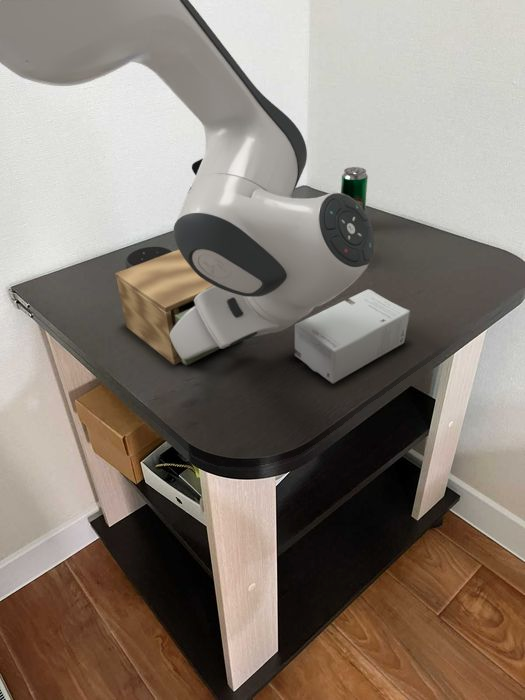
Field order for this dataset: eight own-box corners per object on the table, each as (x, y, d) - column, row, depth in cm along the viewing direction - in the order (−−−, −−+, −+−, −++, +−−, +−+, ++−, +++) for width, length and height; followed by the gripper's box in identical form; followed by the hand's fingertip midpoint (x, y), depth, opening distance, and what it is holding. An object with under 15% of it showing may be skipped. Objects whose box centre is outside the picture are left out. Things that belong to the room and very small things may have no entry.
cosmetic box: (411, 310, 77) (337, 350, 69) (405, 344, 80) (333, 387, 73) (366, 287, 82) (292, 322, 74) (362, 320, 86) (291, 357, 78)
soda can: (337, 232, 113) (340, 174, 106) (340, 222, 117) (343, 165, 110) (362, 233, 112) (367, 175, 105) (364, 223, 116) (369, 166, 109)
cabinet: (237, 333, 84) (233, 278, 78) (174, 365, 78) (165, 307, 72) (187, 300, 92) (180, 248, 87) (126, 327, 86) (115, 272, 81)
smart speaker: (156, 260, 105) (153, 240, 103) (187, 273, 100) (184, 253, 98) (118, 277, 100) (114, 257, 98) (148, 292, 95) (145, 272, 93)
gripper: (321, 241, 68) (270, 283, 80) (184, 299, 57) (149, 338, 69) (346, 285, 68) (291, 320, 80) (213, 352, 57) (173, 381, 69)
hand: (224, 329), depth 74 cm, fingers closed on drawer, 5 cm apart
